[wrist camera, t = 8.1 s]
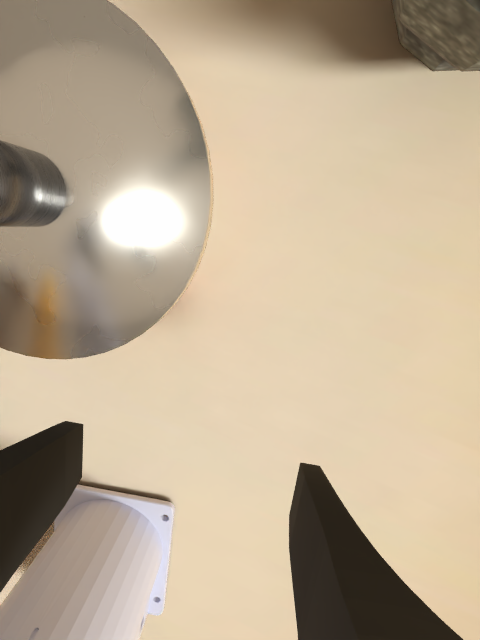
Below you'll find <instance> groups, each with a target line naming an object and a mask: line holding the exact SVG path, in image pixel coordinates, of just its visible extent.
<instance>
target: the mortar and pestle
mask: <svg viewBox="0 0 480 640" xmlns="http://www.w3.org/2000/svg"><path fill="white" fill-rule="evenodd" d="M391 1H392V6H393V11H394V16H395V21H396V26H397V31H398V36H399V41H400V44H401V45H402V46H403V47H405V48H406V49H407V50H408V51H409V52H411V53H412V54H413V55H414V56H415V57H417V58H418V59H419V60H420V61H421V62H423V63H424V64H425V65H426V66H427V67H429V68H430V69H431V70H432V71H450V70H460V71H480V0H391Z"/></svg>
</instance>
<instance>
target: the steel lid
mask: <svg viewBox="0 0 480 640" xmlns="http://www.w3.org/2000/svg"><path fill="white" fill-rule="evenodd" d="M212 210H213V174H212V167H211V160H210V153H209V148H208V145H207V141H206V137H205V134H204V130H203V126H202V124H201V121H200V119H199V116H198V114H197V111H196V109H195V106H194V104H193V101H192V99H191V98H190V96H189V94H188V92H187V90H186V89H185V87H184V85H183V83H182V81H181V80H180V78H179V76H178V74H177V73H176V71H175V70H174V68H173V67H172V65H171V64H170V62H169V61H168V60H167V58H166V57H165V56H164V54H163V53H162V51H161V50H160V49H159V47H158V46H157V45H156V43H155V42H154V41H153V40H152V39H151V38H150V37H149V36H148V35H147V34H146V33H145V32H144V31H143V30H142V28H141V27H140V26H139V25H138V24H137V23H136V22H135V21H133V20H132V19H131V18H130V17H128V16H127V15H126V14H125V13H124V12H122V11H121V10H120V9H119V8H117V7H116V6H115V5H114V4H112V3H110V2H109V1H107V0H0V347H1V348H3V349H5V350H8V351H12V352H16V353H19V354H23V355H26V356H32V357H39V358H45V359H73V358H82V357H88V356H92V355H96V354H101V353H105V352H107V351H110V350H112V349H115V348H117V347H120V346H122V345H124V344H126V343H128V342H129V341H131V340H133V339H135V338H136V337H138V336H140V335H141V334H143V333H144V332H145V331H146V330H148V329H149V328H150V327H151V326H153V325H154V324H155V323H157V322H158V321H159V320H160V319H162V318H163V317H164V316H165V315H166V314H167V312H168V311H169V310H170V309H171V308H172V307H173V306H174V305H175V304H176V303H177V302H178V300H179V299H180V297H181V296H182V295H183V293H184V292H185V290H186V289H187V288H188V286H189V284H190V282H191V281H192V279H193V277H194V275H195V273H196V271H197V269H198V267H199V264H200V262H201V259H202V256H203V254H204V251H205V248H206V245H207V240H208V236H209V231H210V227H211V220H212Z"/></svg>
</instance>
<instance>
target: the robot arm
mask: <svg viewBox="0 0 480 640" xmlns="http://www.w3.org/2000/svg"><path fill="white" fill-rule="evenodd" d="M82 454H83V424H79V423H73V422H68V421H65V422H62V423H59V424H57V425H55V426H52V427H50V428H48V429H46V430H44V431H42V432H39V433H37V434H35V435H33V436H31V437H29V438H27V439H24V440H22V441H20V442H18V443H16V444H14V445H11V446H9V447H7V448H5V449H3V450H0V592H1V591H2V589H3V588H4V587H5V585H6V584H7V582H8V581H9V580H10V578H11V577H12V575H13V574H14V573H15V571H16V570H17V569H18V567H19V566H20V565H21V563H22V562H23V561H24V559H25V558H26V557H27V556H28V554H29V553H30V552H31V550H32V549H33V548H34V546H35V545H36V544H37V542H38V541H39V540H40V538H41V537H42V536H43V535H44V533H45V532H46V531H47V529H48V528H49V527H50V525H51V524H52V523H53V521H54V532H53V534H52V535H51V536H50V538H49V539H48V541H47V542H46V543H45V545H44V546H43V548H42V549H41V550H40V552H39V553H38V554H37V556H36V557H35V559H34V560H33V561H32V563H31V564H30V565H29V567H28V568H27V570H26V571H25V572H24V574H23V575H22V576H21V578H20V579H19V581H18V582H17V583H16V585H15V586H14V588H13V589H12V590H11V592H10V593H9V594H8V596H7V597H6V599H5V600H4V601H3V603H2V604H1V605H0V640H139V638H140V635H141V632H142V629H143V626H144V623H145V620H146V617H147V614H152V615H160V614H162V612H163V609H164V605H165V595H166V586H167V576H168V567H169V558H170V548H171V539H172V529H173V520H174V511H175V508H174V505H173V504H172V503H171V502H168V501H163V500H158V499H153V498H147V497H142V496H137V495H131V494H126V493H120V492H115V491H110V490H104V489H99V488H94V487H88V486H83V485H78V483H79V481H80V479H81V478H82ZM164 515H167V516H168V517H166V516H164ZM289 552H290V562H291V572H292V582H293V591H294V601H295V611H296V620H297V630H298V640H463V639H462V638H461V637H460V636H459V635H457V634H456V633H455V632H454V631H453V630H452V629H451V628H450V627H449V626H448V625H446V624H445V623H444V622H443V621H442V620H441V619H440V618H439V617H438V616H437V615H436V614H435V613H434V612H433V611H432V610H431V609H430V608H429V607H428V606H427V605H426V604H425V603H424V602H423V601H422V600H421V599H420V598H419V597H418V596H417V595H416V594H415V593H414V592H413V591H412V590H411V589H410V588H409V587H408V586H407V585H406V584H405V583H404V582H403V581H402V580H401V578H400V577H399V576H398V575H397V574H396V573H395V572H394V570H393V569H392V568H391V567H390V566H389V565H388V564H387V562H386V561H385V560H384V559H383V558H382V557H381V555H380V554H379V553H378V552H377V551H376V549H375V548H374V547H373V546H372V544H371V543H370V542H369V540H368V539H367V538H366V536H365V535H364V534H363V532H362V531H361V530H360V528H359V527H358V525H357V524H356V522H355V521H354V520H353V518H352V517H351V515H350V514H349V512H348V511H347V509H346V508H345V506H344V505H343V503H342V502H341V500H340V498H339V497H338V495H337V494H336V492H335V490H334V489H333V487H332V485H331V484H330V482H329V480H328V479H327V477H326V475H325V474H324V472H323V470H322V469H321V467H320V466H317V465H311V464H306V463H300V467H299V472H298V476H297V481H296V486H295V491H294V495H293V500H292V505H291V510H290V515H289Z"/></svg>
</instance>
